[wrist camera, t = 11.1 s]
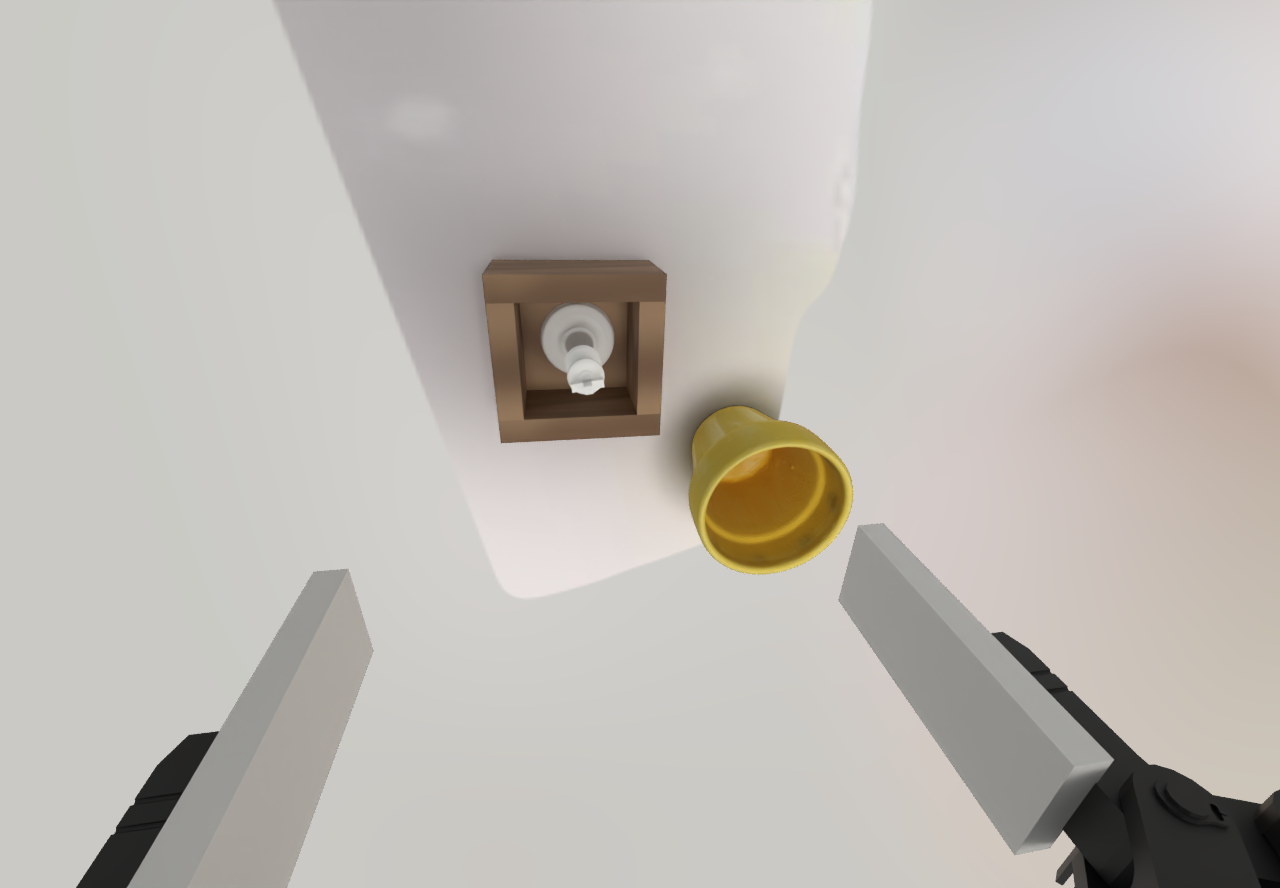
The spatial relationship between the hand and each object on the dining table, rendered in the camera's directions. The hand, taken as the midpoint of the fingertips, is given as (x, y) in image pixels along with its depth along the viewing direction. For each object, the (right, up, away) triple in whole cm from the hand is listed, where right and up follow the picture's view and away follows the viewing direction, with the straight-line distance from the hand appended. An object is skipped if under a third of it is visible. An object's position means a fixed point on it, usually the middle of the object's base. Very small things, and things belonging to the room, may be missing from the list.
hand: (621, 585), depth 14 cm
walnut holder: (-4, +11, +22) cm, 25 cm away
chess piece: (-4, +11, +21) cm, 24 cm away
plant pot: (+8, +4, +28) cm, 29 cm away
